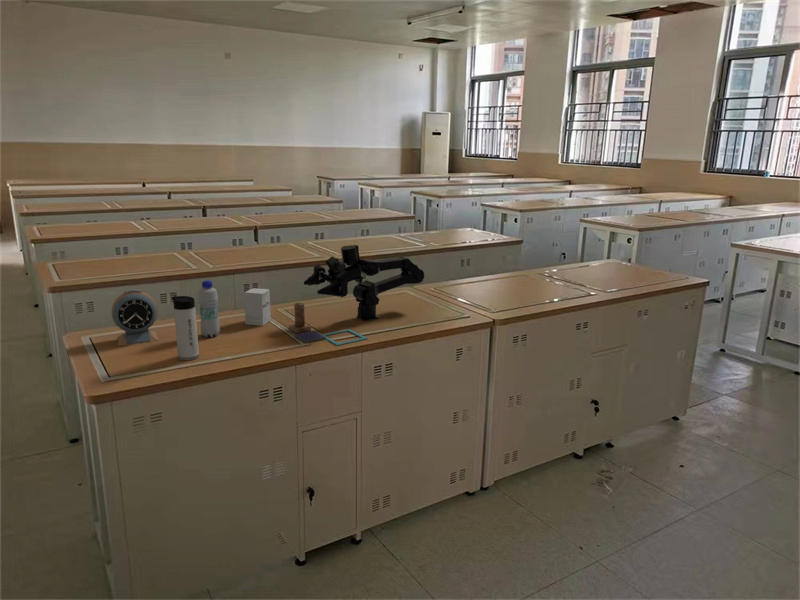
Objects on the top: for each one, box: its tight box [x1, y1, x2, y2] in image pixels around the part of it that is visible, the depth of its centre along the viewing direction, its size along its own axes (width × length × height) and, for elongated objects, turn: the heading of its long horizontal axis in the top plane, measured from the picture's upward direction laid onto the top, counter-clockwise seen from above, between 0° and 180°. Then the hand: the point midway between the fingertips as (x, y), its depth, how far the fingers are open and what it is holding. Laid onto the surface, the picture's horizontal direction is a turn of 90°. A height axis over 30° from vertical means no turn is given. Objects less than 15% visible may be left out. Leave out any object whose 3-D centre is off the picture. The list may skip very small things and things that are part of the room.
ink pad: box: [294, 330, 327, 344], centre depth 201 cm, size 8×8×1 cm
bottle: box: [197, 280, 221, 338], centre depth 199 cm, size 7×7×20 cm
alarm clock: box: [111, 288, 159, 347], centre depth 194 cm, size 14×10×18 cm
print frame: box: [321, 328, 368, 347], centre depth 202 cm, size 12×12×1 cm
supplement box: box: [243, 287, 272, 327], centre depth 215 cm, size 7×7×13 cm
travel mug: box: [171, 295, 200, 362], centre depth 178 cm, size 6×7×20 cm
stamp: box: [288, 302, 312, 335], centre depth 208 cm, size 6×6×10 cm
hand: (310, 287), depth 205 cm, fingers open, 9 cm apart
